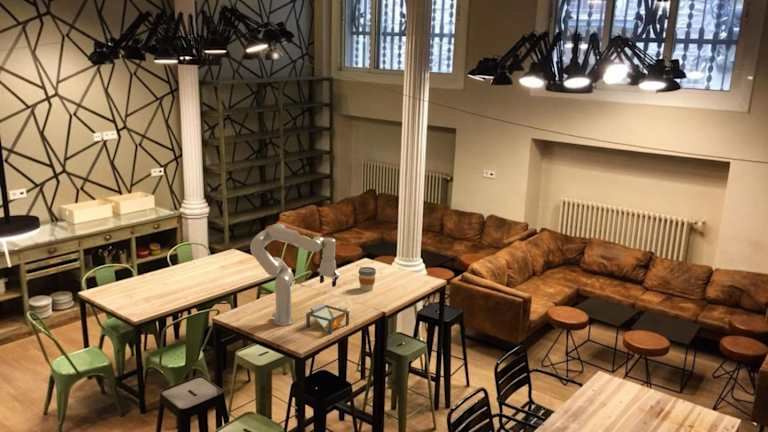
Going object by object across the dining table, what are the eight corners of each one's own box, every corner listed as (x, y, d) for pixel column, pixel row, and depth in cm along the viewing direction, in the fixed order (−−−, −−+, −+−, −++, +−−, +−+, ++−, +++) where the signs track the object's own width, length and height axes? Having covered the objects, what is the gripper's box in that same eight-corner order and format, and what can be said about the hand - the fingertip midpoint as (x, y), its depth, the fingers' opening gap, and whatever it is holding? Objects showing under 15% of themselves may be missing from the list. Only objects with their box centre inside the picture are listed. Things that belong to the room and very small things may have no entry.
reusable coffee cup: (378, 290, 495) (379, 270, 491) (364, 293, 488) (364, 273, 484) (369, 285, 505) (369, 265, 501) (354, 288, 498) (355, 268, 494)
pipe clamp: (330, 330, 418) (335, 324, 415) (325, 325, 420) (330, 318, 416) (342, 325, 428) (347, 318, 425) (337, 320, 429) (342, 313, 426)
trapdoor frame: (306, 327, 424) (306, 313, 422) (325, 317, 439) (325, 304, 437) (330, 334, 414) (330, 320, 412) (349, 324, 429) (349, 311, 427)
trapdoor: (307, 311, 424) (309, 308, 422) (322, 304, 436) (324, 301, 435) (327, 331, 418) (329, 328, 416) (341, 324, 430) (343, 321, 429)
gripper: (314, 256, 420) (313, 282, 424) (336, 262, 411) (334, 289, 415) (322, 253, 426) (321, 279, 430) (343, 259, 417) (342, 286, 421)
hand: (327, 284), depth 422 cm, fingers open, 9 cm apart
